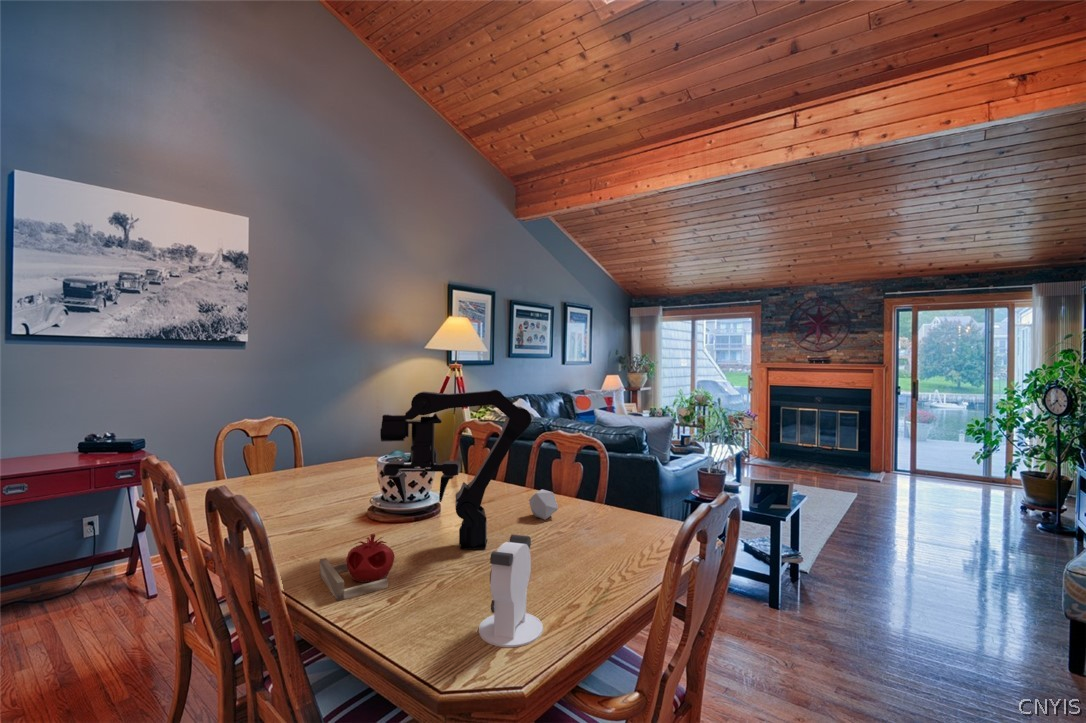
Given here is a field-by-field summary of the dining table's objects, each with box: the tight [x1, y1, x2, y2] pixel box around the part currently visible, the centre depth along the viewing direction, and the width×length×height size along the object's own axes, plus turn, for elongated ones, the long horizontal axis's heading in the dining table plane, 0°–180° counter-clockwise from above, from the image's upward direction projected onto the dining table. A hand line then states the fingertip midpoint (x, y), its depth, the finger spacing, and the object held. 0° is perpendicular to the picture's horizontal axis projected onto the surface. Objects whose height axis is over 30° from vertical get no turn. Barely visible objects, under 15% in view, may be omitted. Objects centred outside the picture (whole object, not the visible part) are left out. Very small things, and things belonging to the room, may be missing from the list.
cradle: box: [319, 557, 389, 602], centre depth 106 cm, size 10×15×4 cm, turn 37°
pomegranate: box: [345, 533, 396, 583], centre depth 109 cm, size 10×10×9 cm
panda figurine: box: [478, 534, 544, 648], centre depth 88 cm, size 12×11×15 cm
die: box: [528, 489, 559, 521], centre depth 153 cm, size 8×9×10 cm
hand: (422, 501), depth 126 cm, fingers open, 9 cm apart
